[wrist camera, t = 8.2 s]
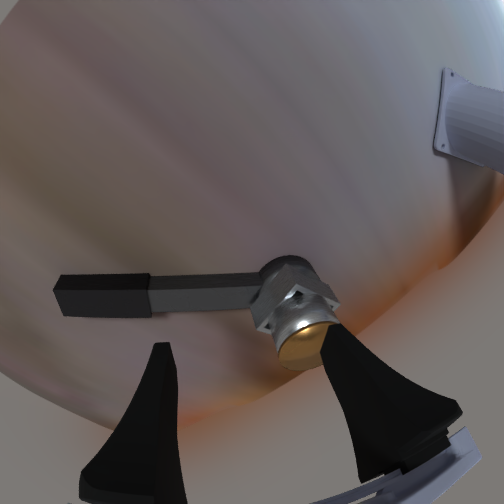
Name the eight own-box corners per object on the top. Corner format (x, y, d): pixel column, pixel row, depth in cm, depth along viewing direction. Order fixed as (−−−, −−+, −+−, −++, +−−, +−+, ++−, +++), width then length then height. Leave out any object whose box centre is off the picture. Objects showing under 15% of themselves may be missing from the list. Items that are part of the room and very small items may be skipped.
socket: (329, 284, 22) (359, 333, 17) (293, 323, 23) (314, 374, 19) (285, 262, 20) (312, 316, 15) (249, 307, 21) (264, 364, 17)
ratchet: (319, 254, 22) (340, 285, 19) (307, 302, 25) (323, 335, 21) (57, 262, 18) (37, 295, 14) (74, 310, 21) (61, 345, 17)
